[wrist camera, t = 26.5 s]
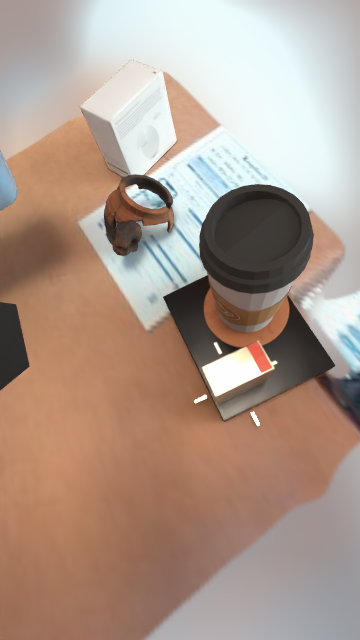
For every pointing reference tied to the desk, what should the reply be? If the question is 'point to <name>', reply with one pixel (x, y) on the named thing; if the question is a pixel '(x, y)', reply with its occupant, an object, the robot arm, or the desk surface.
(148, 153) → the cosmetics box
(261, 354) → the cream block
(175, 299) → the hotplate
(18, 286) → the desk surface
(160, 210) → the pottery mug
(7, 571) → the desk surface
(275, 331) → the warming ring
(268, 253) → the coffee cup
